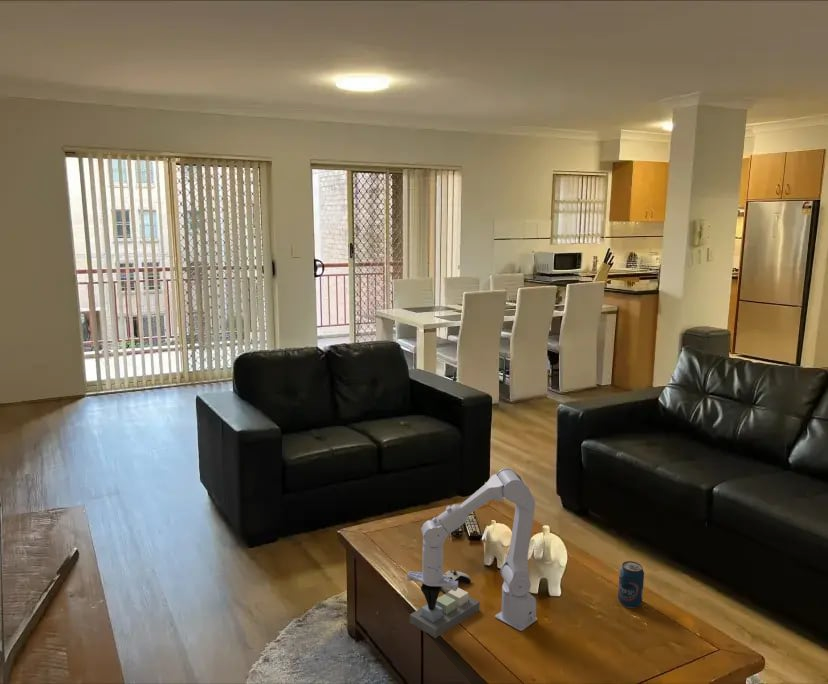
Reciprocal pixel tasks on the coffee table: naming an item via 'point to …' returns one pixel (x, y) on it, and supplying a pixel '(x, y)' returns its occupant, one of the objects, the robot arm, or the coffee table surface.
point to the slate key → (432, 613)
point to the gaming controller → (456, 578)
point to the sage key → (446, 604)
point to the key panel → (445, 618)
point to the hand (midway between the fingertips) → (432, 607)
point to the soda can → (631, 584)
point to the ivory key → (459, 596)
